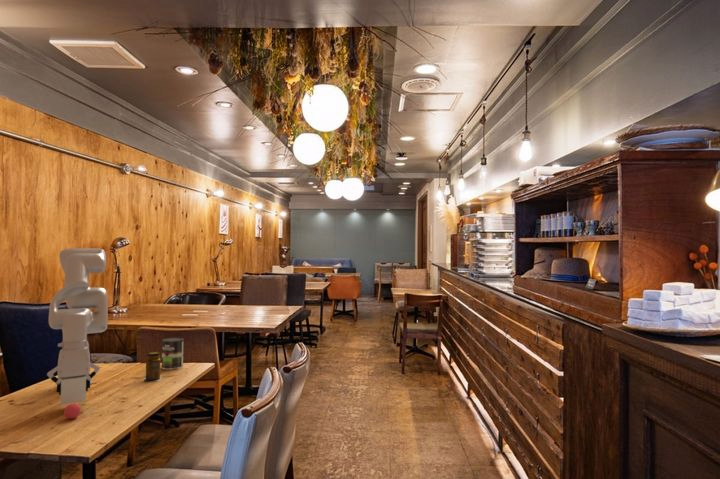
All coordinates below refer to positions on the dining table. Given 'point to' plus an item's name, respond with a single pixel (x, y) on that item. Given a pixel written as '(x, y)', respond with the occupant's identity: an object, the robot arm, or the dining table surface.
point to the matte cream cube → (73, 389)
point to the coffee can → (172, 353)
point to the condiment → (153, 367)
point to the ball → (72, 411)
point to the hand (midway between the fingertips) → (73, 391)
